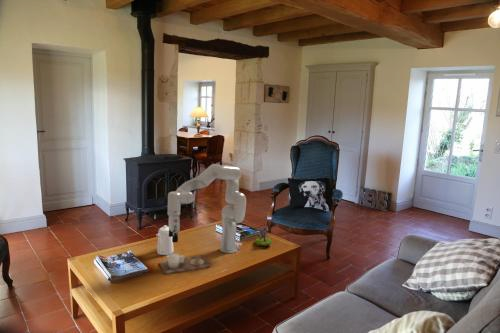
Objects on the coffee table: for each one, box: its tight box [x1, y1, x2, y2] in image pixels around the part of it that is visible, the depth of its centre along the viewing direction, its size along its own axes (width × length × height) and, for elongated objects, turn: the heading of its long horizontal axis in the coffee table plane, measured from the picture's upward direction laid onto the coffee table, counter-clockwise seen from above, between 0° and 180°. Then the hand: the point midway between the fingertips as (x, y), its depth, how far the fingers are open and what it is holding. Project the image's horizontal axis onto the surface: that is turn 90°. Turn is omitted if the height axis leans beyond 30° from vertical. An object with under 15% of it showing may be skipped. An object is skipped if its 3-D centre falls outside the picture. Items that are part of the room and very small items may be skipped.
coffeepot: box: [155, 224, 175, 256], centre depth 240 cm, size 11×25×19 cm, turn 168°
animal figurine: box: [253, 225, 273, 247], centre depth 261 cm, size 14×13×15 cm
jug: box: [165, 252, 185, 269], centre depth 221 cm, size 11×7×8 cm, turn 116°
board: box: [158, 255, 211, 276], centre depth 224 cm, size 28×16×1 cm, turn 116°
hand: (173, 239), depth 219 cm, fingers open, 9 cm apart
